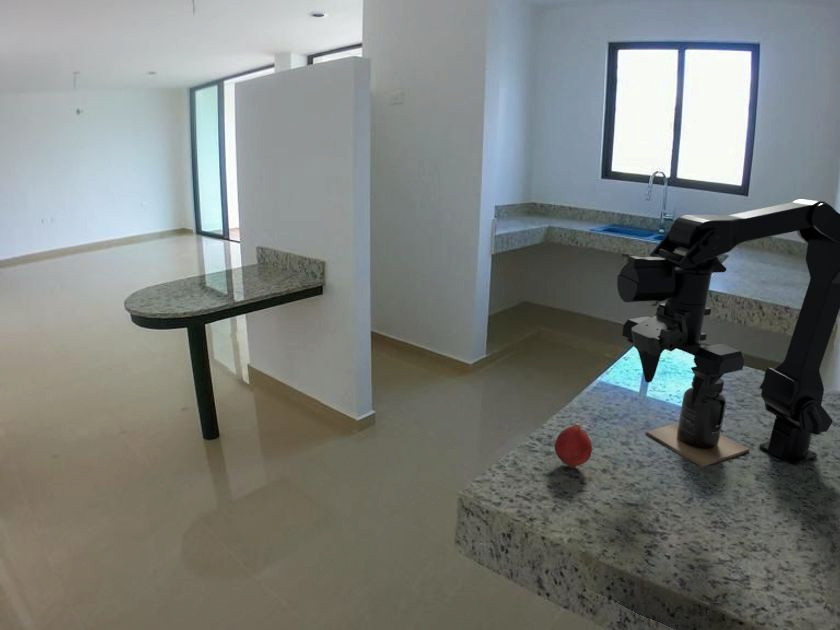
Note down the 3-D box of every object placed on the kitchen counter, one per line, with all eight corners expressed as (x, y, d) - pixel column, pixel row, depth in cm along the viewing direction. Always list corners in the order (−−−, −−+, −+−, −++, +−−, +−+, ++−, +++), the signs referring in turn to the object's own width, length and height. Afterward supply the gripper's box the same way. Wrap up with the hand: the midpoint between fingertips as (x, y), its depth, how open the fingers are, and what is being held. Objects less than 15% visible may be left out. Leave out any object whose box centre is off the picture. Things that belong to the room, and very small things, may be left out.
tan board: (691, 421, 110) (691, 419, 110) (748, 451, 100) (749, 449, 100) (645, 433, 105) (646, 431, 105) (701, 467, 95) (702, 464, 95)
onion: (550, 471, 93) (554, 427, 90) (556, 454, 98) (560, 412, 95) (587, 480, 90) (592, 435, 88) (591, 462, 96) (596, 419, 93)
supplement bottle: (723, 452, 99) (736, 388, 95) (681, 447, 100) (692, 384, 96) (712, 433, 105) (724, 372, 101) (672, 428, 106) (683, 369, 103)
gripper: (602, 290, 92) (591, 379, 97) (700, 324, 76) (682, 429, 81) (653, 283, 97) (640, 369, 101) (756, 314, 80) (735, 414, 85)
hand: (670, 392), depth 92 cm, fingers open, 9 cm apart
